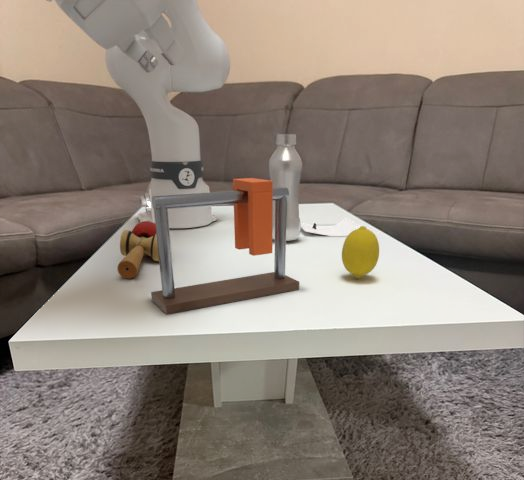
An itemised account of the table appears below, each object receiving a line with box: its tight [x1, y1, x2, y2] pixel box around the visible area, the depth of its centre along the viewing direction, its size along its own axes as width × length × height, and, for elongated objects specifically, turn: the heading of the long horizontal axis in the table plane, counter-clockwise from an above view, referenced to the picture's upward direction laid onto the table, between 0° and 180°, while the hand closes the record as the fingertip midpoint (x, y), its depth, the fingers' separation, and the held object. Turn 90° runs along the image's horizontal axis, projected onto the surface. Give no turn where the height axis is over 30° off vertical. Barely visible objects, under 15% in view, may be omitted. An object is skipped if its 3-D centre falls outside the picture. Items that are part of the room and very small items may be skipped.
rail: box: [150, 187, 300, 315], centre depth 61 cm, size 6×20×14 cm, turn 120°
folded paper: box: [300, 216, 361, 237], centre depth 103 cm, size 12×12×2 cm
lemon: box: [341, 225, 380, 279], centre depth 69 cm, size 6×6×8 cm
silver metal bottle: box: [267, 133, 303, 242], centre depth 90 cm, size 6×7×20 cm
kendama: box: [116, 221, 159, 279], centre depth 77 cm, size 8×6×18 cm
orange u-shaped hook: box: [232, 177, 273, 257], centre depth 61 cm, size 5×3×9 cm, turn 30°
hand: (165, 65), depth 55 cm, fingers open, 8 cm apart
